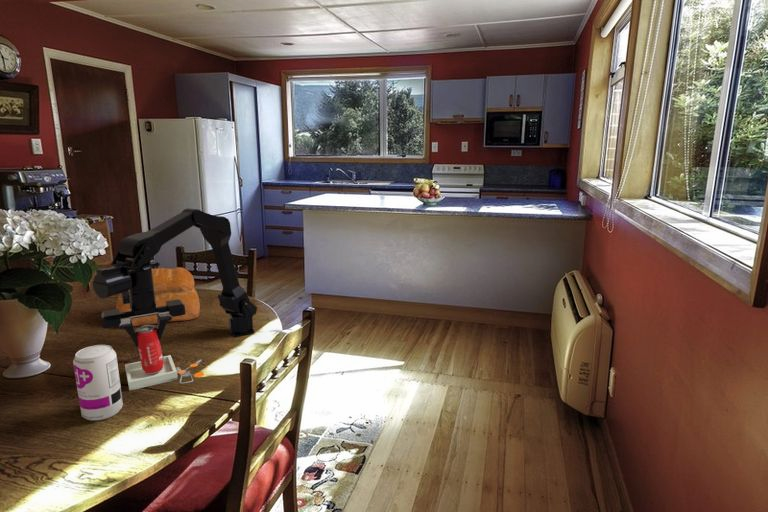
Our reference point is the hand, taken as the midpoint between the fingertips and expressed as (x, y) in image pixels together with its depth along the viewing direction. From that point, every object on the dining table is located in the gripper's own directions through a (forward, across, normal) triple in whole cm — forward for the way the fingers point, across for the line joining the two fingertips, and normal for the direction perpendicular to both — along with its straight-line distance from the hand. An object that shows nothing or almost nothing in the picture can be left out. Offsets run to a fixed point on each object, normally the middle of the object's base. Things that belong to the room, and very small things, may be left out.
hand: (148, 344), depth 123 cm
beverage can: (+8, -1, 0) cm, 8 cm away
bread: (+10, -8, -44) cm, 46 cm away
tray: (+9, 0, 0) cm, 9 cm away
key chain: (+10, -9, +3) cm, 13 cm away
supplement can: (+9, +12, +13) cm, 20 cm away
